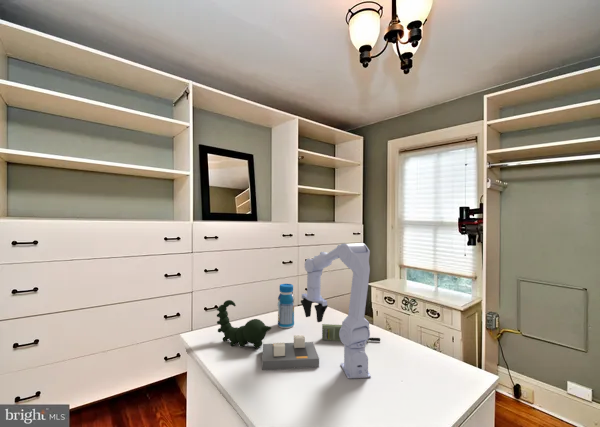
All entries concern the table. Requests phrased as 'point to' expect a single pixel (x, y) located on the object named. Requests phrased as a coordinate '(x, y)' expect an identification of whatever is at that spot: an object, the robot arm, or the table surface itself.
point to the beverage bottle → (286, 306)
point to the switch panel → (290, 357)
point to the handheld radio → (335, 333)
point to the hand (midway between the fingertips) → (313, 319)
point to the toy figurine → (241, 329)
